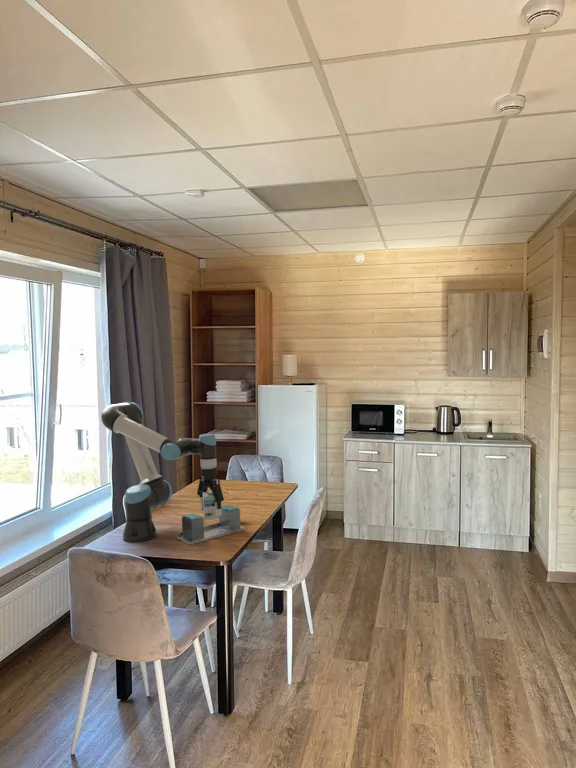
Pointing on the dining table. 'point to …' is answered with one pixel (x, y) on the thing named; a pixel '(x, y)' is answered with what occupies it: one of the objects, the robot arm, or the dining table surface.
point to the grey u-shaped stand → (210, 526)
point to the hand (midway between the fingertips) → (210, 513)
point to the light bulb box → (209, 505)
